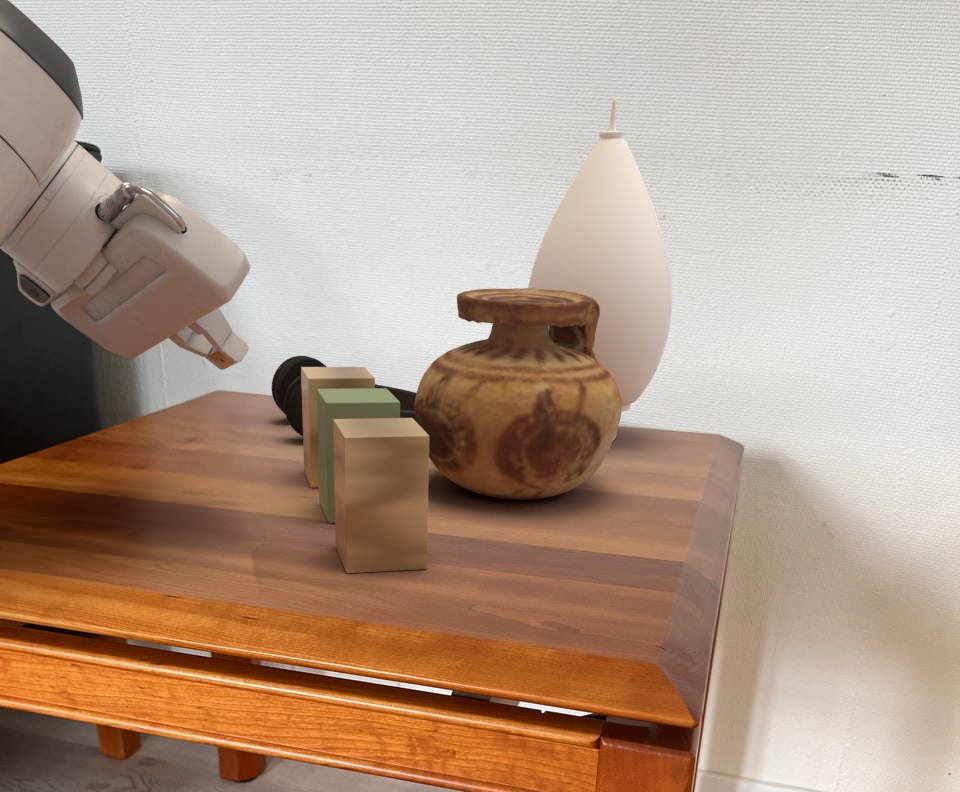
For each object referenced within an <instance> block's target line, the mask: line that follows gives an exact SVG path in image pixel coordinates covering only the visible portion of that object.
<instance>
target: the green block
mask: <svg viewBox="0 0 960 792" xmlns="http://www.w3.org/2000/svg"><path fill="white" fill-rule="evenodd" d="M317 417H318V458H319V488H318V492H319V493H318V495H319V504H320V508H321V509H322V511H323V514H324V516H325V518H326V520H327V523H328V524H335V489H334V435H333V419H369V418H400V402H399V401H398V400H397V399H396V398H395V396H394V395H393V394H392V393H391V392H390V391H389V390H388V389H387V388H358V389H317Z"/></svg>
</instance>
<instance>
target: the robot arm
mask: <svg viewBox="0 0 960 792" xmlns="http://www.w3.org/2000/svg"><path fill="white" fill-rule="evenodd" d="M80 86H81V85H80V82H79V78H78V74H77V70H76V67H75V64H74V62H73V60H72V58H70V57H69V56H68V54H67V53H66V52H65V51H64V50H63V49H62V48H61V47H60V46H59V45H58V44H57V43H56V42H55V41H54V40H53V39H52V38H51V37H50V36H49V35H48V34H46V32H45V31H44V30H42V28H40V26H38V25H37V24H36V23H35V22H34V21H33V20H32V19H31V18H29V16H27V15H26V14H25V13H24V12H23V11H21V10H20V9H19V8H18V7H17V6H16V5H15V4H13V3H12V2H11V1H10V0H0V250H2V251H3V252H4V253H5V254H6V255H8V256H9V257H10V258H12V259H13V265H14V267H15V270H16V277H17V288H18V291H19V292H20V293H21V294H22V295H23V296H24V297H25V298H27V299H28V300H29V301H31V302H32V303H34V304H35V305H36V306H39V307H45V306H47V305H49V304H50V306H51V309H53V311H54V312H55V313H56V314H57V315H58V316H59V317H61V319H63V320H64V321H65V322H66V323H68V324H69V325H70V326H72V327H73V328H75V329H76V330H77V331H79V332H80V333H81V334H83V335H84V336H86V337H87V338H89V339H90V340H92V341H93V342H94V343H96V344H97V345H99V346H100V347H102V348H103V349H105V350H106V351H107V352H110V353H111V354H113V355H116V356H118V357H121V358H124V359H127V360H133V359H136V358H137V357H140V355H142V354H144V353H145V352H147V351H149V350H151V349H153V348H154V347H156V346H158V345H159V344H160V343H162V342H164V341H166V340H167V339H169V340H170V341H171V342H173V343H174V344H175V345H176V346H177V347H178V348H181V349H184V350H186V351H188V352H191V353H193V354H195V355H197V356H199V357H202V358H205V359H206V360H207V361H208V362H210V363H211V364H212V365H214V366H215V367H216V368H217V369H219V370H221V371H224V370H227V369H228V368H230V367H231V366H234V365H236V364H239V363H240V362H242V361H243V360H244V358H245V356H246V355H247V353H248V351H249V344H248V342H246V341H245V340H244V339H243V338H242V337H240V336H239V335H238V334H237V333H235V331H233V328H232V326H231V325H230V323H229V322H228V319H227V318H226V317H225V315H224V313H223V311H222V309H220V308H221V307H222V306H225V305H226V304H228V303H229V302H230V301H231V300H232V299H233V297H234V296H235V295H236V294H237V292H238V290H239V289H240V288H241V286H242V285H243V282H244V281H245V279H246V277H247V276H248V274H249V273H250V271H251V264H250V261H249V259H248V257H247V255H246V254H245V251H244V250H243V249H242V248H241V247H240V246H239V245H238V244H236V242H235V241H233V240H232V239H231V238H230V237H228V236H227V235H226V234H225V233H224V232H222V231H221V230H219V229H218V228H217V227H216V226H215V225H213V224H212V223H211V222H210V221H208V220H207V219H206V218H205V217H203V216H202V215H200V214H199V213H198V212H196V211H195V210H193V209H192V208H191V207H189V206H188V205H187V204H186V203H184V202H182V201H181V200H179V199H177V198H176V197H174V196H173V195H170V194H168V193H165V192H162V191H161V192H159V191H155V190H153V189H152V188H149V187H144V188H143V187H142V186H137V185H133V184H132V183H130V182H123V181H122V180H120V179H119V178H118V177H117V176H116V175H115V174H114V173H113V172H111V171H110V170H109V169H108V168H107V167H106V166H104V165H103V164H102V163H101V162H100V161H99V160H98V159H96V158H95V156H93V154H91V153H90V152H89V151H87V150H86V149H85V148H84V147H83V146H82V145H80V144H78V142H77V141H75V138H76V136H77V133H78V131H79V128H80V125H81V123H82V121H83V120H84V103H83V96H82V91H81V87H80Z"/></svg>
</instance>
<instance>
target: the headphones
mask: <svg viewBox="0 0 960 792" xmlns="http://www.w3.org/2000/svg"><path fill="white" fill-rule="evenodd" d="M301 367H328V366H327V365H326V364H324V363H323V362H322V361H321V360H319V359H316V358H315V357H310V356H307V355H296V356H291V357H288V358H287V359H286V360H284V361H283V362H282V363H281V364H280V365H279V366H278V367H277V368H276V370H275V372H274V374H273V376H272V380H271V396H272V400H273V401H274V403H275V405H276V406H277V408H278V409H279V410H280V411H281V412H282V413H283V414H284V415H285V417H286V420H287V422H288V424H289V425H290V427H291V428H292V430H293V431H294V432H296V433H297V434H298V435H299V436H300V437H303V415H302V383H301ZM375 388H387V389H388V390H389V391H390V392H391V393H392V394H393V395H394V396H395V398H396V399H397V400H398V401H399V402H400V418H413V419H414V420H415V421H416V417H415V398H416V393H417V391H411V390H407V389H402V388H397V387H393V386H388V385H382V384H376V383H375Z"/></svg>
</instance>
